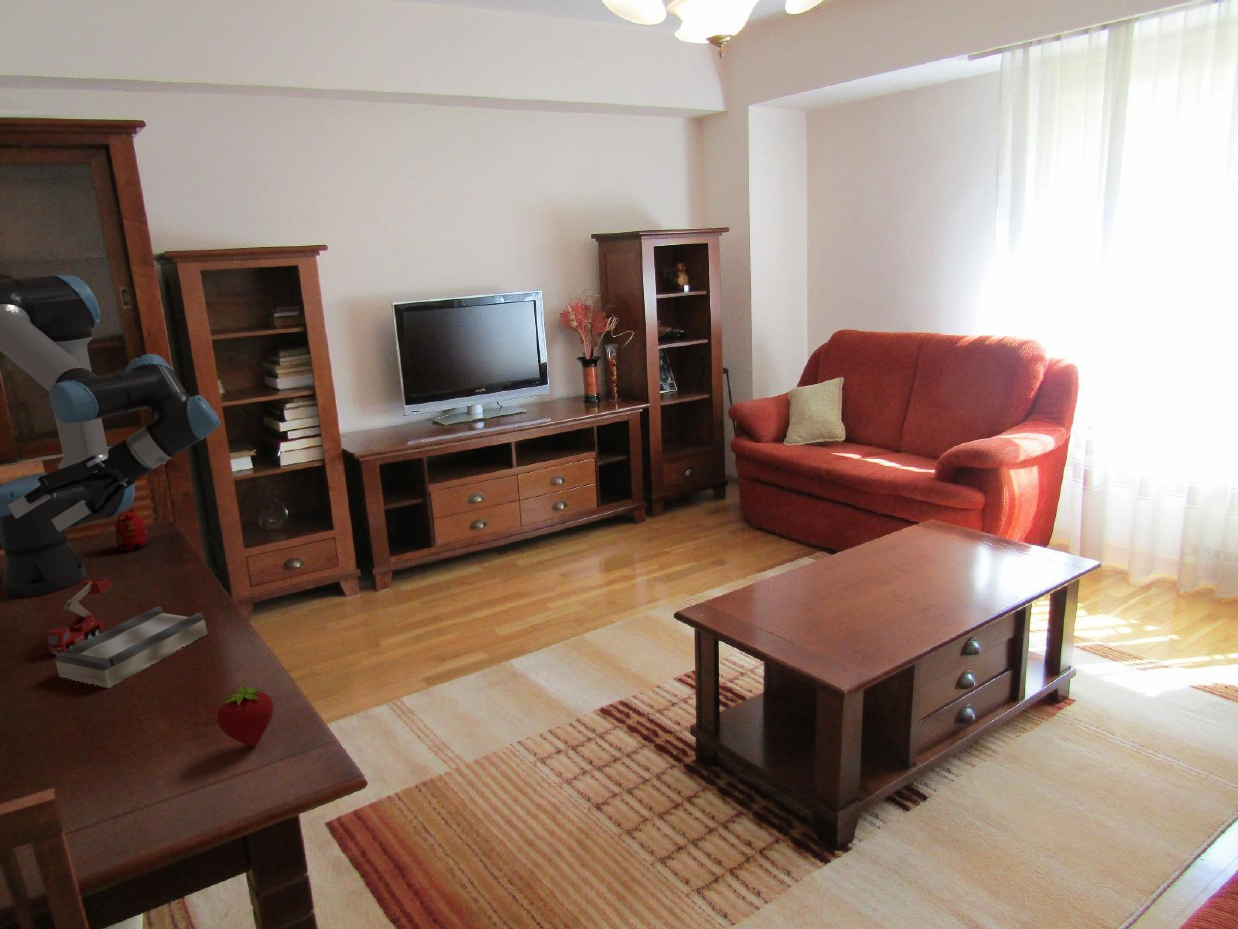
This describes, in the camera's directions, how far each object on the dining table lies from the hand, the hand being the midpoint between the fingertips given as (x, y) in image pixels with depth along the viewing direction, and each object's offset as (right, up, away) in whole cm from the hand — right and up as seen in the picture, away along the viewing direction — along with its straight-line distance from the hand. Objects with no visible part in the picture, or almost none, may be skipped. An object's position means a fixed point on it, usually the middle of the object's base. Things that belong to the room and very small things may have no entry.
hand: (34, 519), depth 162 cm
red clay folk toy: (-9, -10, +49) cm, 51 cm away
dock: (+24, -23, -8) cm, 34 cm away
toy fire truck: (+10, -22, 0) cm, 24 cm away
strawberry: (+57, -30, -39) cm, 75 cm away
